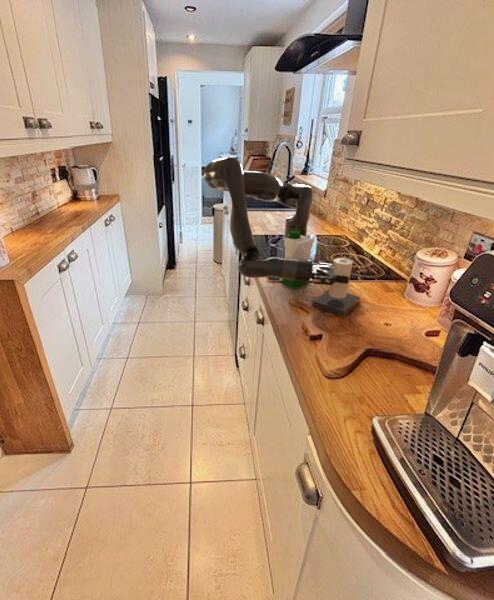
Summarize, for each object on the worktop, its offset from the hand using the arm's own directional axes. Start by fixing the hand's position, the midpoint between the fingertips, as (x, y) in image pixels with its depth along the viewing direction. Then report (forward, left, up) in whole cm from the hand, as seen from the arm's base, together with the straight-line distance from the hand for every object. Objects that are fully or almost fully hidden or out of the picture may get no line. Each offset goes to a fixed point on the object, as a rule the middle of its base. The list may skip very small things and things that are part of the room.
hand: (348, 276), depth 106 cm
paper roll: (+1, -2, -7) cm, 7 cm away
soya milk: (-5, -22, -11) cm, 25 cm away
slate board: (+1, -2, -11) cm, 11 cm away
